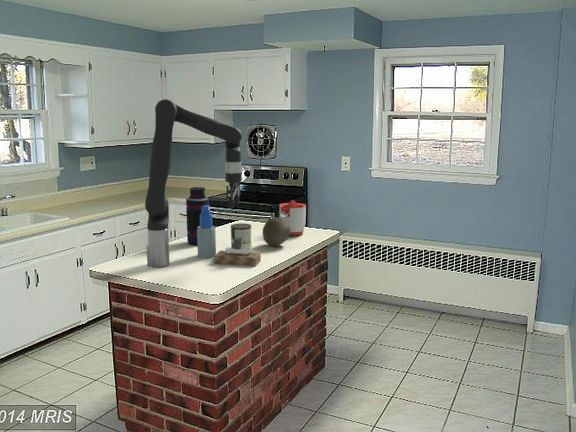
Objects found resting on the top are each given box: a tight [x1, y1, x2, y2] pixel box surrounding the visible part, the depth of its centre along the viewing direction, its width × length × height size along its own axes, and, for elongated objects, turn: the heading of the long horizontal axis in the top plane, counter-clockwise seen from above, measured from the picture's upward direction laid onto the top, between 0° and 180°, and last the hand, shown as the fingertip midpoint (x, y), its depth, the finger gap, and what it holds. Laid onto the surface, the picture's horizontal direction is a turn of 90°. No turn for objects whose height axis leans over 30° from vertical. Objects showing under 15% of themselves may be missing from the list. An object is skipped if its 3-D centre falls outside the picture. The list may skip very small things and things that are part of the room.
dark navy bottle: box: [185, 186, 210, 245], centre depth 293 cm, size 14×12×30 cm
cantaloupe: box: [262, 216, 290, 247], centre depth 289 cm, size 14×14×15 cm
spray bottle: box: [197, 204, 217, 259], centre depth 267 cm, size 9×9×25 cm
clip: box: [224, 237, 250, 256], centre depth 257 cm, size 11×3×12 cm, turn 79°
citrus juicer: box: [279, 199, 307, 237], centre depth 315 cm, size 16×17×20 cm
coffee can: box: [230, 222, 252, 252], centre depth 274 cm, size 10×10×14 cm
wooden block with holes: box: [213, 250, 262, 267], centre depth 258 cm, size 20×9×4 cm, turn 79°
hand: (233, 206), depth 255 cm, fingers open, 8 cm apart
